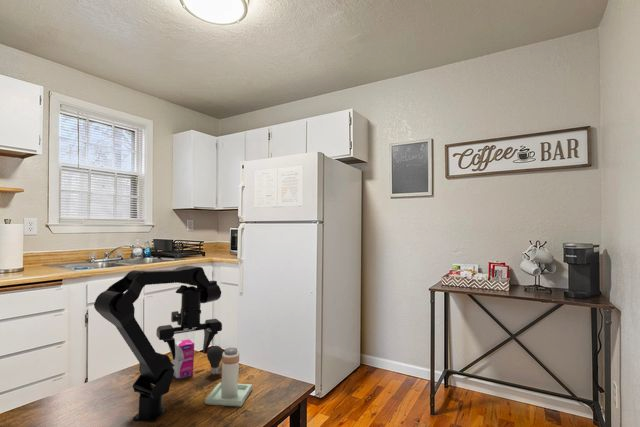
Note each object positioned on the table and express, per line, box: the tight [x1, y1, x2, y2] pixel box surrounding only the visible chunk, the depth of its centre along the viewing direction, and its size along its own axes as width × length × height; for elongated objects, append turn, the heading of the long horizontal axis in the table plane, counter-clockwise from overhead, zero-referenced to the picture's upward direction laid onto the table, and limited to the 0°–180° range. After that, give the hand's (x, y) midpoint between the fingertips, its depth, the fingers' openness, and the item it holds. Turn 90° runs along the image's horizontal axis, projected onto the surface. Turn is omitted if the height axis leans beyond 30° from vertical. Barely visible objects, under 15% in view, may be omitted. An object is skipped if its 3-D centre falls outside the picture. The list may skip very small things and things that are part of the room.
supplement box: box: [171, 338, 195, 380], centre depth 123 cm, size 6×6×12 cm
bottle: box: [220, 347, 240, 399], centre depth 108 cm, size 5×5×14 cm
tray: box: [204, 382, 253, 408], centre depth 108 cm, size 11×11×2 cm
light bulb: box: [206, 345, 224, 376], centre depth 124 cm, size 6×6×10 cm
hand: (189, 356), depth 108 cm, fingers open, 9 cm apart
